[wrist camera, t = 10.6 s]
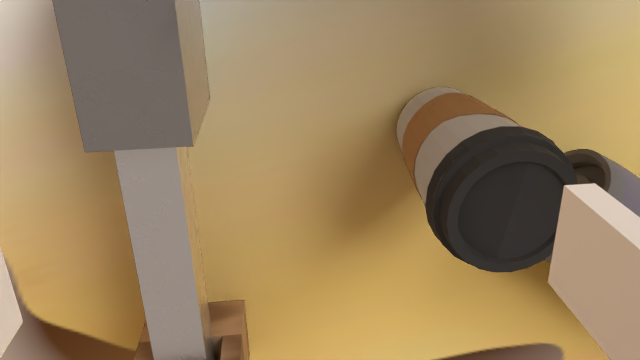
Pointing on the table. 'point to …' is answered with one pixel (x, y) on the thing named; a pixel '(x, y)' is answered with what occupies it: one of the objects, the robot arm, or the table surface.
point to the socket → (215, 332)
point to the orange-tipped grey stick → (167, 251)
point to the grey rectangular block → (135, 71)
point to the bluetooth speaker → (605, 178)
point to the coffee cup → (483, 179)
